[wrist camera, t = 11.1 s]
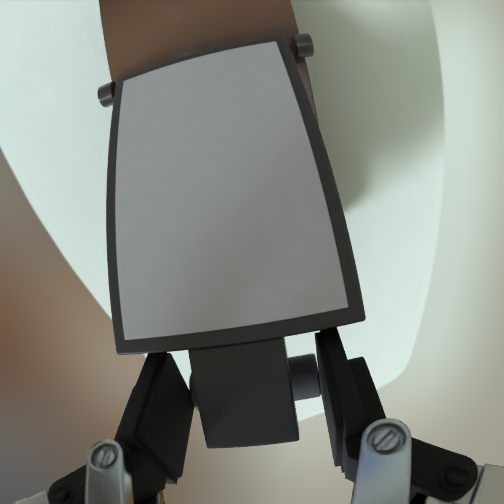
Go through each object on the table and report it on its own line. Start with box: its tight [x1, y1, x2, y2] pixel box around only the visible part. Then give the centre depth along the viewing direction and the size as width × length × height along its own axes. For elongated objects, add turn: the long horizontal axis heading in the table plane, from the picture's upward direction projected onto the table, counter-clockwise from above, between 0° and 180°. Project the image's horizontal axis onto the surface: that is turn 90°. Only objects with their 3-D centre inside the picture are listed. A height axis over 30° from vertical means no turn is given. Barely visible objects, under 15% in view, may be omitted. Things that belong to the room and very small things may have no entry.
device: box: [106, 36, 366, 448], centre depth 12 cm, size 16×8×4 cm
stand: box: [98, 0, 319, 127], centre depth 15 cm, size 24×10×7 cm, turn 12°
